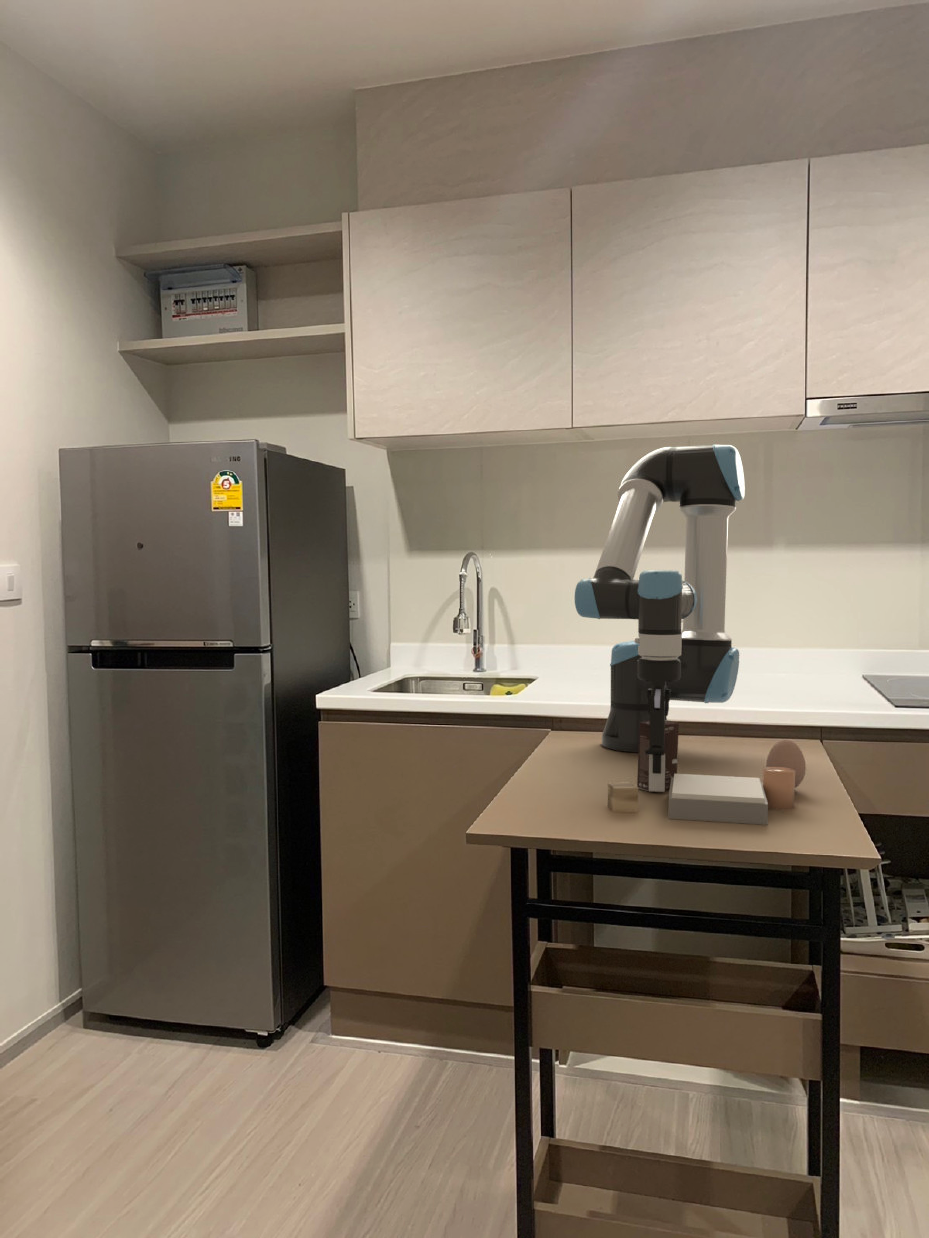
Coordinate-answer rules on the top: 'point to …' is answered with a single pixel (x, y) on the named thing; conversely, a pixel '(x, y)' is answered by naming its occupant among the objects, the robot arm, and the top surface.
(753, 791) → the podium
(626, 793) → the oak block
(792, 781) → the tan round piece
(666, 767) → the box
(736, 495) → the robot arm
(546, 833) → the top surface
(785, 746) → the egg
